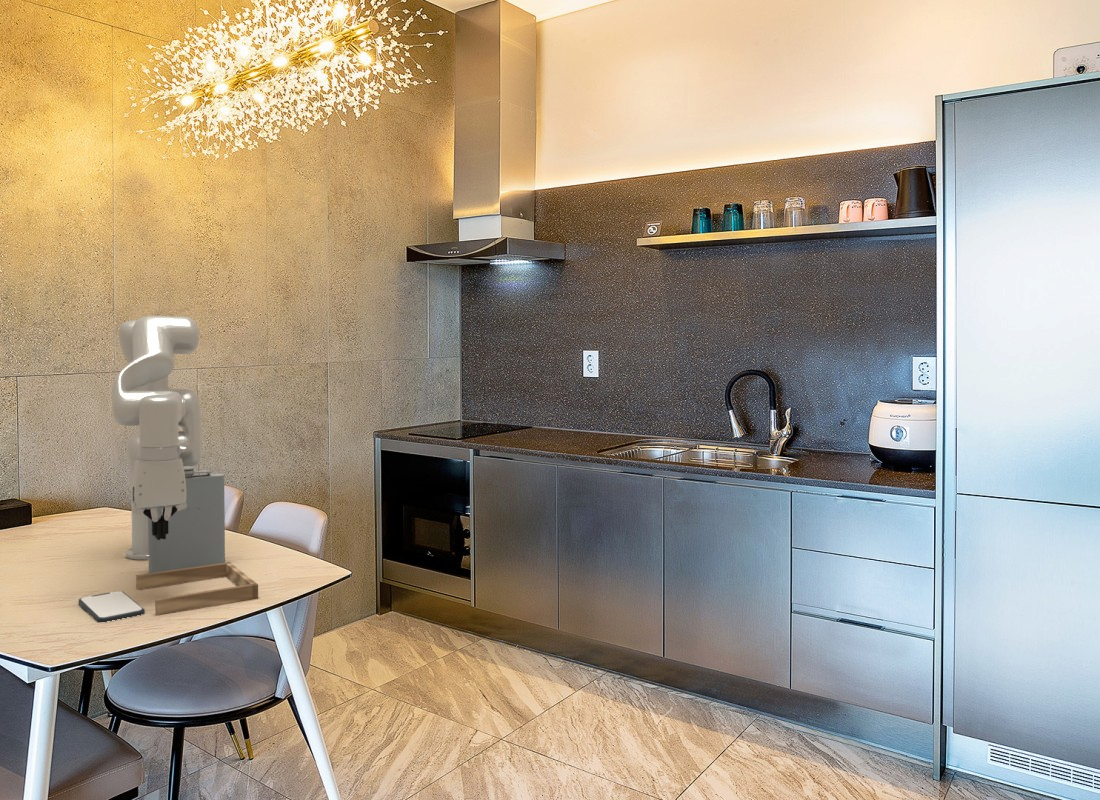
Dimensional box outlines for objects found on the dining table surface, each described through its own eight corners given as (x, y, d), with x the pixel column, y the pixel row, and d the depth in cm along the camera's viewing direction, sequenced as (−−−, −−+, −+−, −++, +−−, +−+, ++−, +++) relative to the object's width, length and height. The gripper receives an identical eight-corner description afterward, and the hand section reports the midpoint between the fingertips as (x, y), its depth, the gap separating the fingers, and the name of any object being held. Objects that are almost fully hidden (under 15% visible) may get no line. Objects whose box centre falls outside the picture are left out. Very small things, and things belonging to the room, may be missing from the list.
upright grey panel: (220, 561, 207) (219, 462, 205) (227, 565, 203) (226, 464, 201) (146, 573, 195) (144, 468, 194) (151, 577, 192) (149, 471, 190)
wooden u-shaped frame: (136, 588, 183) (136, 575, 183) (230, 574, 195) (230, 562, 195) (156, 615, 166) (156, 600, 166) (258, 598, 178) (258, 584, 178)
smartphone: (146, 617, 167) (122, 596, 178) (146, 609, 167) (122, 589, 178) (98, 627, 161) (76, 605, 172) (98, 619, 161) (76, 597, 172)
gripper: (192, 448, 182) (192, 529, 184) (116, 453, 173) (118, 538, 175) (201, 454, 176) (201, 537, 178) (123, 459, 167) (124, 547, 169)
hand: (160, 537), depth 176 cm, fingers closed
